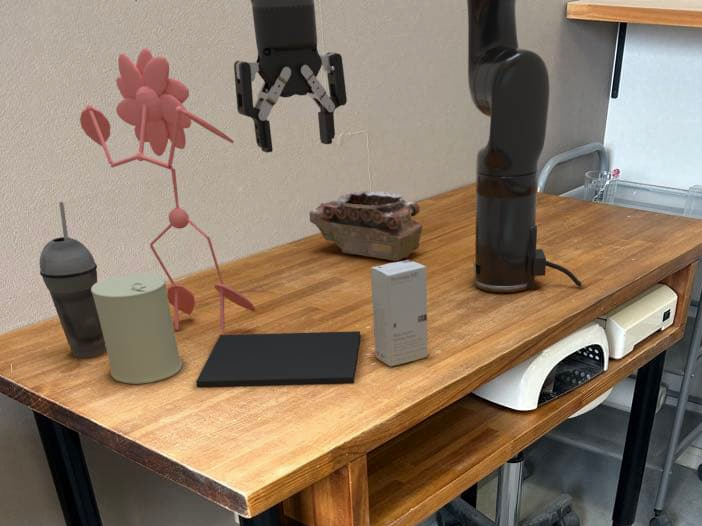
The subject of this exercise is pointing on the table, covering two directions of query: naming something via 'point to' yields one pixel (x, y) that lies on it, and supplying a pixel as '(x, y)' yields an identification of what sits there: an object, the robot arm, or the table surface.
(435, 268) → the table surface
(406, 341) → the cosmetic box
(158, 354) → the can
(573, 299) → the table surface
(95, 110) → the figurine
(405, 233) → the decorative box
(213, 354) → the mat
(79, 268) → the beverage cup
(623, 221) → the table surface
